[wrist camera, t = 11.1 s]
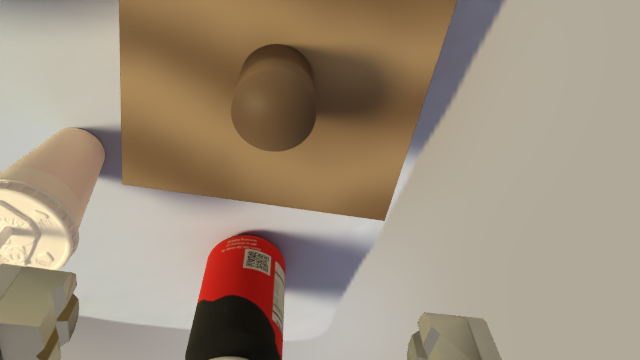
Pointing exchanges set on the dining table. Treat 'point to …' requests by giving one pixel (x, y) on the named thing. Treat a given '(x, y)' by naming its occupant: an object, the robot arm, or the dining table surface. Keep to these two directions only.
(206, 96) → the walnut lid
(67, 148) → the smoothie
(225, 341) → the beverage can
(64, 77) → the dining table surface
